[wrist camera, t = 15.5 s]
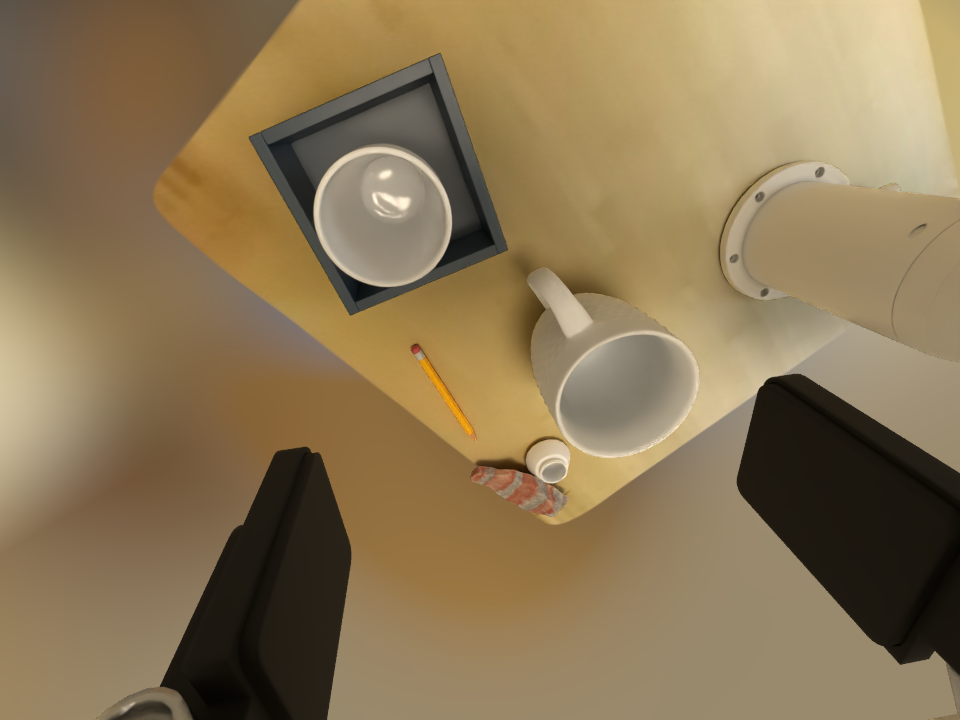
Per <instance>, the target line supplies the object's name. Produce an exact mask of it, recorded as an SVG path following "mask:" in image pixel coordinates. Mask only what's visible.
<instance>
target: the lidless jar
mask: <svg viewBox="0 0 960 720" xmlns="http://www.w3.org/2000/svg"><path fill="white" fill-rule="evenodd" d="M525 461H526V464H527V468H528V470H529V471H530V472H531V473H532V474H533V475H535V476H536V477H538V478H539V479H542V480H543V481H544V482H546V483H556V482H559V481H561V480H562V479H563V478H564V477H565V476H566V475H567V471H568V466H569V462H570V452H569V449H568V447H567V446H566V445H565V444H564V443H563V442H561V441H559V440H551V439H548V440H544V441H541V442H539V443H537V444H536V445H534V446H533V447H532V448H531V449H530V450H529V452H528V453H527V456H526V460H525Z"/></svg>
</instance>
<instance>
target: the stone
mask: <svg viewBox="0 0 960 720" xmlns="http://www.w3.org/2000/svg"><path fill="white" fill-rule="evenodd" d="M470 479H471V481H472V482H476V483H479V484H482V485H486V486H488V487H491V488H492V489H493V490H494V491H495V492H496V493H497V494H499V495H500V496H501V497H503V498H505V499H506V500H508V501H510V502H512V503H514V504H515V505H518V506H520V508H521V509H524V510H528V511H530V512H533V513H538V514H543V515H547V516H549V517H552V516H553V517H554V516H556V514H557V513H558V511H560V510H561V509H562V508H563V507H564V506H565V505H566V504H567V502H568V500H569V499H568V496H567V495H564V494H562V493H561V492H559V490H557V489H556V488H555V487H553V486H551V485H549V484H548V483H546V482H544V481H543V480H542V479H539V478H538V477H536V476H535V477H534V476H533V475H531V474H526V473H522V472H519V471H516V470H512V469H511V470H507V469H502V470H499V469H496V468H493V467H485V466H478V467H476V468H475V469H474V471H472V474H471V477H470Z"/></svg>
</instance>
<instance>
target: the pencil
mask: <svg viewBox="0 0 960 720" xmlns="http://www.w3.org/2000/svg"><path fill="white" fill-rule="evenodd" d="M411 351H412V352H413V354H414V355H415V357H416V358H417V360H418V361H419V363H420V364H421V366H422V367H423V369H424V370H425V372H426V373H427V375H428V376H429V378H430V379H431V381H432V382H433V384H434V385H435V387H436V388H437V390H438V391H439V393H440V394H441V396H442V397H443V399H444V400H445V402H446V403H447V405H448V406H449V408H450V409H451V411H452V412H453V414H454V415H455V417H456V418H457V420H458V421H459V423H460V424H461V426H462V427H463V429H464V430H465V431H466V433H467V434H468V435H469V436H470V437H471V438H472V439H473V440H474V441H476V442H477V439H476V436H475V433H474V430H473V429H472V427H471V426H470V424H469V422H468V421H467V419H466V418H465V416H464V415H463V413H462V412H461V410H460V409H459V407H458V406H457V404H456V403H455V401H454V400H453V398H452V397H451V395H450V393H449V392H448V390H447V389H446V387H445V386H444V384H443V383H442V381H441V380H440V378H439V377H438V375H437V374H436V372H435V371H434V369H433V368H432V366H431V364H430V363H429V361H428V360H427V358H426V357H425V355H424V354H423V352H422V351H421V349H420V348H419V346H417V345H415V346H413V347H412V348H411Z"/></svg>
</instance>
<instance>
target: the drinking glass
mask: <svg viewBox="0 0 960 720" xmlns="http://www.w3.org/2000/svg"><path fill="white" fill-rule="evenodd" d="M313 214H314V223H315V229H316V232H317V235H318V238H319V241H320V243H321V245H322V247H323V249H324V250H325V252H326V253H327V255H328V256H329V258H330V259H331V260H332V261H333V262H334V263H335V264H336V265H337V266H338V267H339V268H340V269H341V270H342V271H344V272H345V273H346V274H348V275H349V276H351V277H353V278H354V279H356V280H358V281H361V282H363V283H366V284H369V285H374V286H380V287H396V286H402V285H406V284H409V283H412V282H414V281H416V280H418V279H420V278H422V277H423V276H425V275H426V274H428V273H429V272H430V271H431V270H432V269H433V268H434V267H435V266H436V265H437V264H438V262H439V261H440V260H441V258H442V257H443V255H444V253H445V251H446V249H447V247H448V244H449V241H450V237H451V231H452V213H451V207H450V203H449V199H448V195H447V192H446V190H445V187H444V185H443V183H442V181H441V179H440V178H439V176H438V175H437V173H436V172H435V170H434V169H433V168H432V167H431V166H430V164H429V163H428V162H426V161H425V160H424V159H423V158H422V157H421V156H419V155H418V154H416V153H415V152H413V151H411V150H409V149H407V148H405V147H402V146H399V145H395V144H390V143H373V144H367V145H363V146H361V147H358V148H355V149H353V150H351V151H349V152H348V153H346V154H345V155H343V156H342V157H341V158H340V159H338V160H337V161H336V162H335V163H334V164H333V165H332V166H331V167H330V168H329V169H328V170H327V172H326V173H325V174H324V176H323V178H322V179H321V181H320V184H319V186H318V188H317V191H316V195H315V200H314V213H313Z"/></svg>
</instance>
